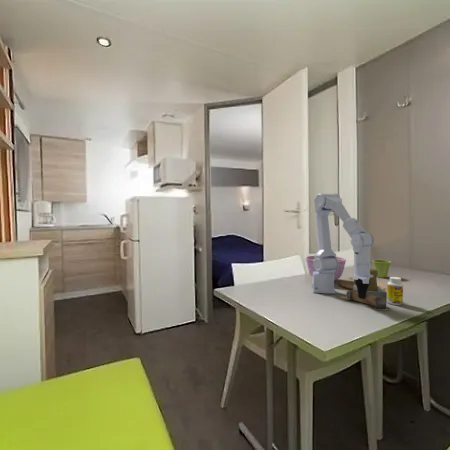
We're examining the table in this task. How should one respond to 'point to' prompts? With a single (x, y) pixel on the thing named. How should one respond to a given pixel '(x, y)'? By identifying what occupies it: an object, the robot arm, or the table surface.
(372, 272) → the olive rounded piece
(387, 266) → the plant pot
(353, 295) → the crank
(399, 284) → the supplement bottle
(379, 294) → the tray
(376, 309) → the crank base
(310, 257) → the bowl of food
